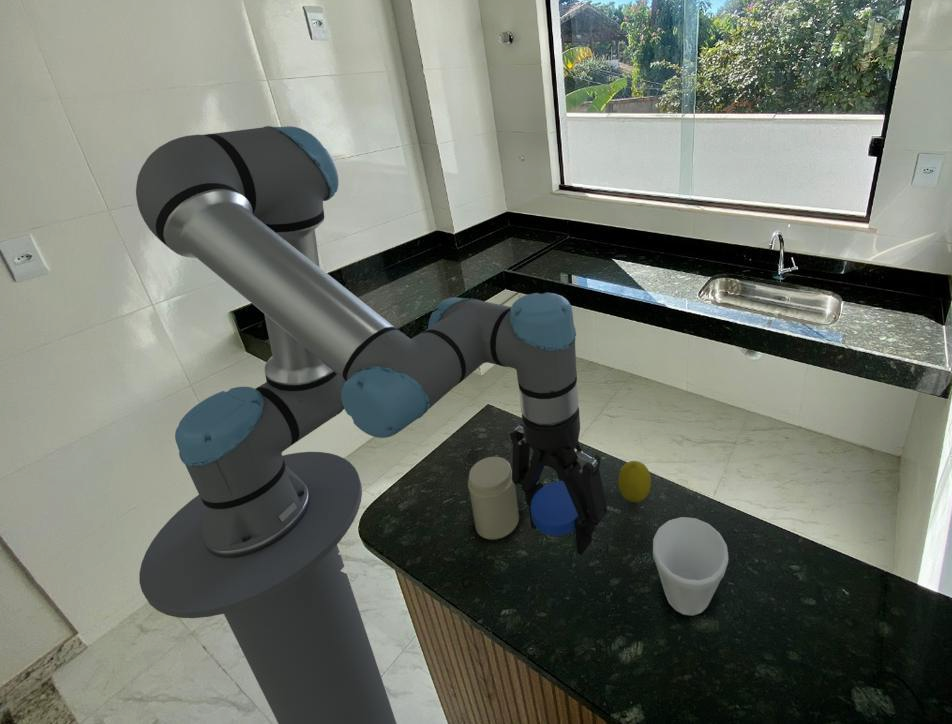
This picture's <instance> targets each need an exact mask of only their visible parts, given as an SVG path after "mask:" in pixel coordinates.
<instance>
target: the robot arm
mask: <svg viewBox="0 0 952 724" xmlns="http://www.w3.org/2000/svg"><path fill="white" fill-rule="evenodd" d="M339 185H340V184H339V174H338V170H337V167H336V165H335V162H334V160H333V158H332V156H331V154H330V153H329V151H328V149H326V148H325V146H323V144H322V142H321V141H320V140H319V139H318V138H317V137H316V136H315V135H313V134H312V133H310V132H309V131H307V130H305V129H302V128H300V127H297V126H291V125H290V126H289V125H288V126H271V125H267V126H266V125H265V126H262V127H255V128H248V129H240V130H231V131H223V132H222V131H221V132H215V133H207V134H191V135H190V134H189V135H184V136H180V137H178V138H174V139H171V140H169V141H168V142H166V143H163V144H162V145H160V146H158V148H156V149H155V150H153V152H152V153H150V154H149V156H147V158H146V160H145V162H144V163H143V165H142V166H141V168H140V170H139V173H138V175H137V180H136V186H135V197H136V198H135V199H136V202H137V203H136V204H137V207H138V211H139V213H140V215H141V218H142V219H143V221H144V223H145V225H146V226H147V228H148V229H149V231H151V233H152V234H153V235H154V236H155V237H156V239H157V240H159V241H160V243H162V244H164V245H165V246H166V247H167V248H168V249H170V250H171V251H172V252H173V253H175V254H176V255H179V256H182V257H185V258H191V259H198V260H199V262H201V263H202V264H203V265H205V267H207V268H208V269H209V270H210V271H212V272H213V273H214V274H216V275H217V276H218V277H219V278H220V279H221V280H223V281H224V282H225V283H226V284H227V285H229V286H230V287H231V288H233V290H235V291H236V292H237V293H238V294H240V295H241V296H242V297H243V298H245V300H247V301H248V302H250V304H252V305H253V306H254V307H256V308H257V309H258V310H259V311H260V312H261V313H263V314H264V320H265V324H266V330H267V334H268V339H269V346H270V350H271V351H270V352H271V355H272V356H270V357H269V359H268V360H267V361H266V362H265V364H264V375H265V380H266V382H264V383H262V384H261V385H259V386H257V387H255V388H254V387H252V386H236V387H233V388H230V389H228V390H226V391H225V390H222V391H219V392H217V393H215V394H213V395H212V394H211V396H208V397H207V398H205V399H203V400H202V401H200V402H199V403H197V404H196V405H194V406H193V407H192V408H191V409H190V410H189V411H188V412H187V413H185V415H183V417H182V418H181V419H180V421H179V423H178V425H177V427H176V429H175V433H174V440H175V443H176V445H177V448H178V452H179V453H178V455H179V459H180V461H181V462H182V463H183V464H184V465H185V467H186V470H187V472H188V474H189V476H190V477H191V480H192V483H193V485H194V487H195V490H196V491H197V493H198V495H199V496H200V497H201V500H202V502H203V504H204V506H203V524H202V538H203V541H204V544H205V546H206V548H207V550H208V551H209V552H210V553H211V554H213V555H215V556H217V557H221V558H236V557H241V556H246V555H249V554H252V553H255V552H257V551H260V550H262V549H264V548H266V547H268V546H270V545H272V544H274V543H275V542H277V541H278V540H280V539H281V538H283V537H284V536H285V535H287V534H288V533H289V532H290V531H291V530H292V529H293V528H295V526H296V525H297V524H298V523H299V522H300V521H301V520H302V518H303V517H304V515H305V514H306V512H307V510H308V507H309V504H310V495H309V492H308V489H307V486H306V485H305V483H304V482H303V481H302V480H301V479H300V478H299V477H298V476H297V475H296V474H295V473H294V472H293V471H291V470H290V469H289V468H288V467H287V466H286V465H285V462H284V459H283V454H282V453H283V452H284V451H286V450H287V449H289V448H290V447H291V446H293V445H294V444H296V443H297V442H299V441H300V440H302V439H303V438H305V437H306V436H308V435H310V434H312V432H314V431H315V430H317V429H318V428H320V427H321V426H323V425H324V424H326V423H327V422H329V421H331V420H332V419H333V418H335V417H336V416H338V415H339V414H341V413H343V411H345V413H346V414H347V415H348V416H349V417H351V419H352V422H353V424H354V425H355V426H356V427H357V428H358V429H359V430H360V431H361V432H363V433H365V434H367V435H368V436H371V437H373V438H378V439H387V438H391V437H393V436H395V435H397V434H398V433H399V432H401V431H403V430H404V429H406V428H407V427H408V426H409V425H411V424H413V422H415V421H417V420H418V419H421V418H422V417H423V416H424V415H425V414H426V413H428V411H429V410H430V409H431V408H432V407H433V406H434V405H435V404H436V403H438V402H439V401H440V400H441V399H443V398H444V397H445V395H447V394H448V393H449V392H451V390H453V389H454V388H455V387H457V386H458V385H459V384H460V383H462V382H463V381H464V380H466V379H467V378H468V377H469V376H471V375H472V374H473V373H474V372H475V371H476V370H477V369H479V368H480V367H481V366H482V365H483V364H486V363H488V364H492V365H496V366H500V367H505V368H511V369H514V370H516V377H517V383H518V393H519V402H520V412H521V419H522V420H521V421H522V423H520V424H519V425H518V426H516V428H514V430H512V431H511V432H510V433H509V437H510V441H511V445H512V458H511V459H512V463H511V469H512V481H513V483H514V484H515V486H516V485H517V486H518V485H520V486H521V490H522V491H523V492H524V499H525V503H526V505H527V506H528V512H529V518H530V519H529V521H530V528H532V529H534V530H536V529H537V528H536V526H534V523H533V520H532V518H531V508H530V507H531V501H532V498H533V496H534V495H535V493H536V492H537V491H538V490H539V489H540V488H542V487H543V486H544V484H543V483H541V482H539V481H540V480H541V479H542V476H541V475H542V473H543V471H544V468H545V467H549V468H551V469H553V470H554V471H555V472H556V475H557V477H558V479H559V482H564V483H565V486H566V488H567V490H568V493H569V495H570V497H571V500H572V502H573V504H574V507H575V509H576V511H577V513H578V516H577V518H576V519H575V542H576V554H578V555H580V556H583V554H584V553H585V551H586V550H587V549H588V547H589V546H590V544H591V543H592V541H593V539H592V538H593V537H592V536H593V535H592V534H593V533H594V532H595V530H596V526H598V525H599V524H600V522H601V521H602V519H603V518H604V517H605V515H606V514H607V512H608V507H607V502H606V497H605V491H604V487H603V482H602V478H601V477H602V476H601V472H600V467H601V456H599V454H597V453H594V454H593V455H592V456H590V455H588V454H586V453H585V452H584V451H583V449H582V445H581V443H580V441H579V437H580V433H581V417H580V406H579V402H580V401H579V388H578V386H579V385H578V374H577V373H578V372H577V360H576V359H577V356H576V355H577V354H576V353H577V352H576V340H577V339H576V337H577V331H576V326H575V320H574V315H573V314H574V313H573V308H572V305H571V303H570V301H569V300H568V299H567V298H565V297H564V296H563V295H560V294H557V293H552V292H544V293H539V292H534V293H528V294H526V295H523V296H521V297H519V298H518V299H516V300H515V301H514V302H513V303H512V304H511V306H508V305H503V304H498V303H495V302H491V301H490V302H489V301H484V300H481V299H477V298H468V297H467V298H464V297H456V296H455V297H448V298H445V299H444V300H442V301H441V302H440V303H438V304H437V305H436V309H435V310H434V311H433V312H432V313H431V315H430V317H429V319H428V325H427V328H426V329H424V330H423V331H421V332H419V333H418V334H417V335H416V336H414V337H412V338H410V337H409V336H408V335H406V333H403V332H402V331H401V330H399V328H397V327H395V326H394V325H393V324H392V323H391V322H389V321H388V320H387V319H385V318H384V317H383V316H382V315H380V314H379V313H378V312H377V311H375V310H374V309H373V308H371V307H370V306H369V305H367V303H366V302H364V301H362V300H361V299H360V298H359V297H358V296H356V295H355V294H354V293H353V292H351V291H350V290H348V289H347V288H346V287H345V286H343V284H341V283H340V282H339V281H337V280H336V279H335V278H334V277H332V276H331V275H330V274H328V273H327V272H326V271H325V270H324V269H322V268H321V266H320V259H319V250H318V243H317V236H316V235H317V234H316V229H317V228H318V227H320V225H321V224H323V223H324V221H325V210H324V209H325V208H324V202H327V201H329V200H331V199H332V198H333V197H334V196H335V195H336V193H337V192H338V189H339ZM531 450H532V456H531V458H530V455H531V453H530V452H531Z"/></svg>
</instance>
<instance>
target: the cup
mask: <svg viewBox="0 0 952 724" xmlns="http://www.w3.org/2000/svg"><path fill="white" fill-rule="evenodd" d="M652 559H653V561H654V563H655V565H656V570H657V573H658V576H659V579H660V582H661V586H662V588H663V589H662V590H663V592H664V595H665V597H666V600H667V602H668V604H669V605H670V606H671V608H672V609H673V610H674V611H675V612H677V613H679V614H681V615H683V616H690V617H693V616H697V615H700V614H702V613H703V612H704V611H705V610H706V609H707V608H708V606H709V605H710V603H711V601H712V599H713V597H714V595H715V593H716V591H717V589H718V587H719V585H720V582H721V581H722V579H723V578H724V577H725V574H726V571H727V568H728V565H729V551H728V545H727V543H726V542H725V539H724V538H723V536H722V534H721V533H720V532H719V531H717V529H716V528H714V527H713V526H712V525H711V524H709V523H708V522H706V521H703V520H700V519H698V518H696V517H685V516H680V517H677V518H672V519H669V520H668V521H666V522H664V523H663V524H662V525H661V526H660V527H658V529H657V531H656V532H655V534H654V537H653V538H652Z"/></svg>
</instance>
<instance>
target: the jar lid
mask: <svg viewBox="0 0 952 724" xmlns="http://www.w3.org/2000/svg"><path fill="white" fill-rule="evenodd" d="M530 508H531V518H532V520H533V523H534V526H536V529H537V530H538V531H540V532H541V533H543V534H545V535H548V536H556V537H557V536H564V535H568V534H569V533H572V532H573V531H576V529H575V519H576V518H577V516H578V513H577V511H576V509H575V507H574V504H573V502H572V500H571V497H570V495H569V493H568V490H567V488H566V486H565V483H564V481H553V482H550V483H546V484H544V485H543V487H542V488H540V489H539V490H538V491H537V492H536V493H535V495H534V496H533V498H532V501H531V507H530Z"/></svg>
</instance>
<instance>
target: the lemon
mask: <svg viewBox="0 0 952 724" xmlns="http://www.w3.org/2000/svg"><path fill="white" fill-rule="evenodd" d="M617 483H618V490H619V492H620V494H621V496H622V497H623V498H624V499H625V500H626V501H628V502H630V503H640V502H642V501H644V500H645V499H646V498H647V497H648V495H649V494H650V491H651V488H652V477H651V474H650V471H649V469H648V467H647V466H646V465H645V464H644V463H643V462H641V461H638V460H630V461H628V462H626V463H625V464H624V465H623V466H622V467H621V469H620V471H619V474H618V481H617Z"/></svg>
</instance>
